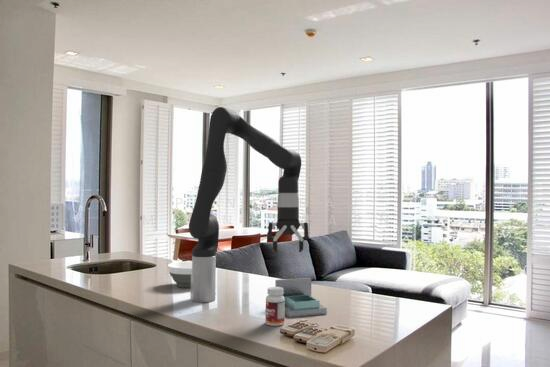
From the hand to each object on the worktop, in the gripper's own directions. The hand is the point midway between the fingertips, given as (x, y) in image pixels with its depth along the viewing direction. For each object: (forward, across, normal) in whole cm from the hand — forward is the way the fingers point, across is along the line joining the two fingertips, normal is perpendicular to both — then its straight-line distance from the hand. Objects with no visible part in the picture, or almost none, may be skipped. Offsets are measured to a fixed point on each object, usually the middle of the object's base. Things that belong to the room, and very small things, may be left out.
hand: (288, 252), depth 154 cm
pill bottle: (+22, -5, -12) cm, 25 cm away
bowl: (+21, -40, +46) cm, 65 cm away
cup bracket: (+21, +5, +3) cm, 22 cm away
